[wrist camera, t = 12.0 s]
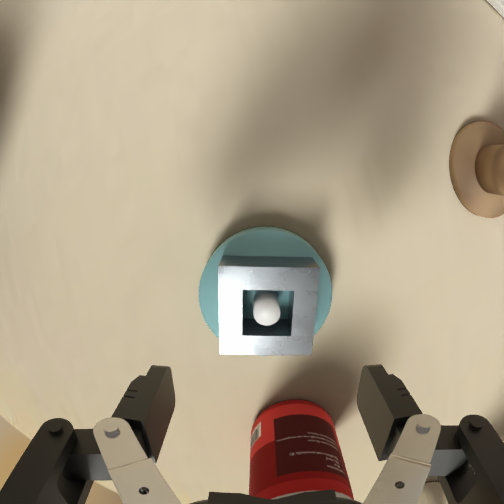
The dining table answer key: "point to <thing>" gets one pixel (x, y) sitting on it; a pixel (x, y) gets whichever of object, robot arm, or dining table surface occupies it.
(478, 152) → the stand
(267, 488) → the canned food
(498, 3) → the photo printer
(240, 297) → the square metal frame
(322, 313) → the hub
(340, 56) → the dining table surface
